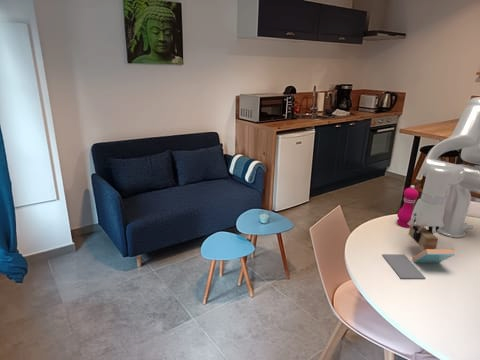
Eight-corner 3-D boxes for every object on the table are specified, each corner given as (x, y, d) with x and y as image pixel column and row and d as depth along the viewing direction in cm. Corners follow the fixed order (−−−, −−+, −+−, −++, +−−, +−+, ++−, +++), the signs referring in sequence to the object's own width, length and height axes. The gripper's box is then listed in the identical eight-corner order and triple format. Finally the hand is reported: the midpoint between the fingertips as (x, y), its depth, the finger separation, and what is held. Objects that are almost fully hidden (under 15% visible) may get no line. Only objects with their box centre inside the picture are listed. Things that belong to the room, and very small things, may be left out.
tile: (412, 257, 128) (426, 249, 119) (437, 257, 128) (453, 249, 120) (413, 262, 127) (427, 254, 118) (439, 262, 127) (454, 254, 119)
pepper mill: (414, 229, 153) (424, 188, 146) (397, 227, 154) (406, 187, 147) (409, 222, 159) (419, 183, 152) (394, 220, 161) (402, 181, 154)
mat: (404, 255, 131) (404, 254, 131) (425, 279, 117) (425, 278, 117) (382, 255, 131) (382, 254, 131) (400, 279, 117) (401, 277, 117)
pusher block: (408, 234, 136) (411, 223, 135) (418, 234, 137) (420, 223, 135) (424, 250, 125) (427, 238, 123) (434, 250, 125) (438, 238, 124)
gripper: (448, 194, 128) (436, 236, 134) (405, 193, 127) (396, 235, 134) (460, 202, 121) (448, 245, 127) (416, 201, 120) (405, 245, 127)
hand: (421, 240), depth 130 cm, fingers closed on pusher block, 4 cm apart
